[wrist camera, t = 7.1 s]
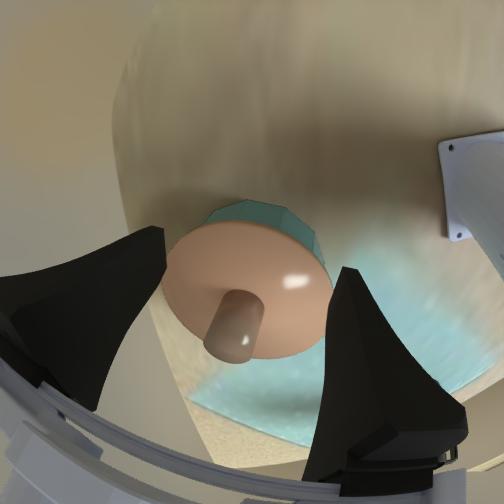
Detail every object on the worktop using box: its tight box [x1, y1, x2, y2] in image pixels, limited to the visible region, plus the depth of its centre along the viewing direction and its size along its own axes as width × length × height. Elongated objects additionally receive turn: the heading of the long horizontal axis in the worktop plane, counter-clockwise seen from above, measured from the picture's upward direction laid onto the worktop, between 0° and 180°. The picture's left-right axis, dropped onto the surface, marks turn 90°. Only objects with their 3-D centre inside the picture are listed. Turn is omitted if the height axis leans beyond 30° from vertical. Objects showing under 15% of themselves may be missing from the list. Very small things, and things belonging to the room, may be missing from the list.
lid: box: [162, 220, 334, 364], centre depth 19 cm, size 13×13×5 cm
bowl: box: [203, 200, 324, 265], centre depth 22 cm, size 11×11×4 cm
